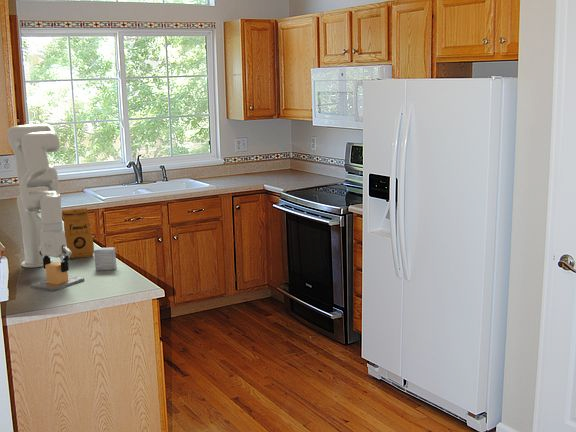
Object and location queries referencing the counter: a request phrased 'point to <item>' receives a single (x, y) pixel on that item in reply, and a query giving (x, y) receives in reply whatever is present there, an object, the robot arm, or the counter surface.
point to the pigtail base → (53, 287)
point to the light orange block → (55, 273)
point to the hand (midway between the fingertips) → (56, 269)
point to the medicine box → (105, 258)
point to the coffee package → (78, 233)
